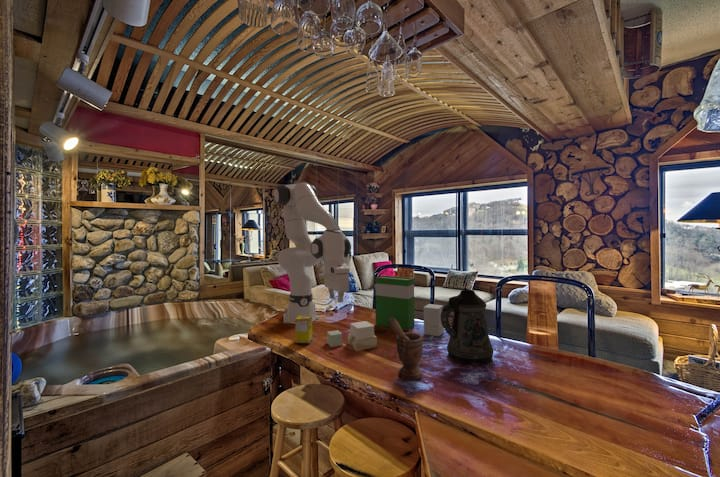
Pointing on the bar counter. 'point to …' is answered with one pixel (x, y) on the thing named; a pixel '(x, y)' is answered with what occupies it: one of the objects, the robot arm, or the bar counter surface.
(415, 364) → the mortar and pestle
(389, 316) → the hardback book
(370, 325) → the tower top
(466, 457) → the bar counter surface
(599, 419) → the bar counter surface
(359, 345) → the tower base
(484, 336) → the beer stein
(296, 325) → the supplement box
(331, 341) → the sage block
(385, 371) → the bar counter surface
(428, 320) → the supplement box
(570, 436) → the bar counter surface
